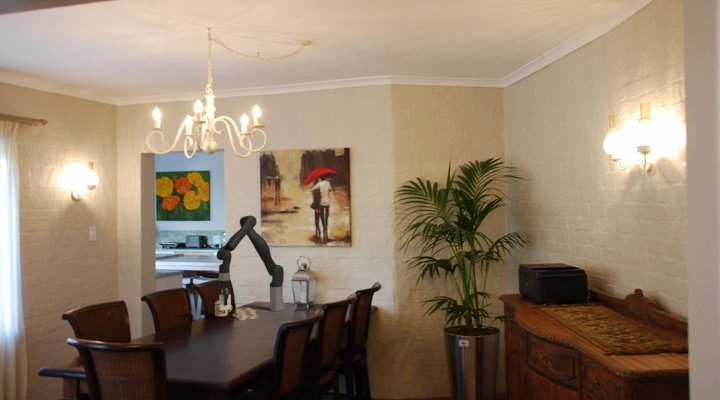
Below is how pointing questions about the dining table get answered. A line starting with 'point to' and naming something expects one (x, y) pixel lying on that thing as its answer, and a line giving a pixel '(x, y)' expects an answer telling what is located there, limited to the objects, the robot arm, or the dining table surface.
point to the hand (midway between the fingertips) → (225, 304)
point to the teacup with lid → (220, 312)
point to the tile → (221, 300)
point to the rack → (245, 314)
